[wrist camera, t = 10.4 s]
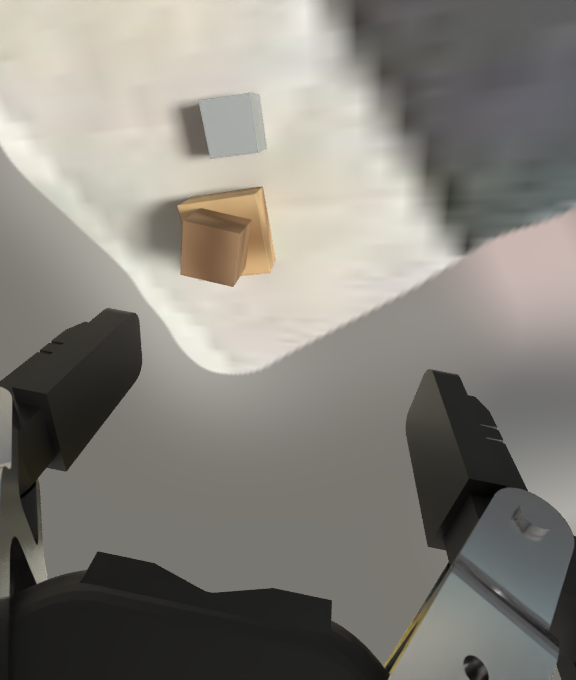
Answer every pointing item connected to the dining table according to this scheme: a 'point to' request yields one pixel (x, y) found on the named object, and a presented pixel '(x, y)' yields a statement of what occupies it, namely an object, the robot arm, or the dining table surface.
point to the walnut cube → (214, 246)
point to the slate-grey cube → (233, 125)
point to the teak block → (244, 206)
